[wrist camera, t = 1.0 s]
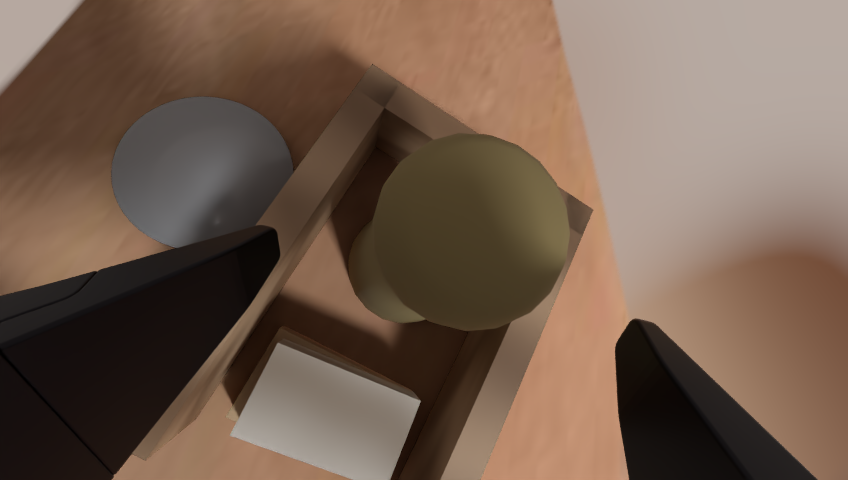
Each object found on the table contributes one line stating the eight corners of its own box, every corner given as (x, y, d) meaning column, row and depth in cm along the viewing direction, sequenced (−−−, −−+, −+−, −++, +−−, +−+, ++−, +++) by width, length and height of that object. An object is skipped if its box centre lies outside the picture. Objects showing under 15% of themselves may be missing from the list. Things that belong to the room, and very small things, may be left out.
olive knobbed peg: (475, 238, 19) (637, 166, 9) (435, 341, 18) (572, 402, 7) (378, 190, 18) (428, 46, 8) (326, 294, 17) (305, 286, 6)
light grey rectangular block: (372, 469, 16) (378, 505, 14) (236, 406, 16) (212, 430, 13) (411, 386, 17) (425, 403, 15) (286, 322, 17) (275, 327, 14)
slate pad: (274, 265, 17) (272, 264, 16) (93, 234, 15) (85, 232, 15) (308, 124, 18) (308, 120, 18) (148, 84, 17) (142, 77, 16)
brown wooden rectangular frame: (411, 523, 16) (432, 593, 12) (163, 403, 15) (100, 439, 11) (546, 226, 21) (593, 209, 17) (365, 111, 19) (372, 63, 15)
